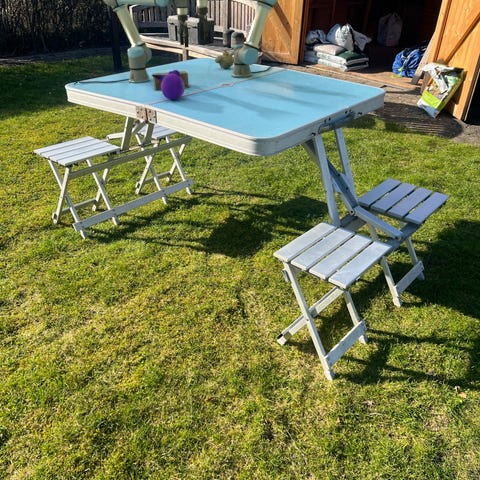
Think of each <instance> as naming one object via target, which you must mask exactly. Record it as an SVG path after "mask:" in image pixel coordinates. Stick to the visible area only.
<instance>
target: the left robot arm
mask: <svg viewBox="0 0 480 480" xmlns="http://www.w3.org/2000/svg"><path fill="white" fill-rule="evenodd" d="M103 2H104V3H105V4H106V5H107V6H109V7H111V9H112V11H113V12H115V13H116V14H117V17H118V18H119V21H120V23H121V25H122V27H123V29H124V32H125V34H126V36H127V38H128V40H129V43H130V44H131V46H130V47H129V48H128V49H127V56H128V66H129V76H128V78H124V79H119V80H108V81H107V80H106V81H105V80H104V81H99V80H94V81H93V80H91V81H81V80H80V81H75V82H74V83H73V85H77V84H95V83H99V84H111V83H120V82H127V81H128V82H129V83H133V84H141V83H148V82H150V76H149V74H148V71H147V67H146V64H147V63H149V62H150V60H151V59H152V56H153V55H152V50H151V48H150V47H148V46H147V44H146V41H144V40H143V39H142V38H141V36H140V33H139V31H138V29H137V27H136V24H135V22H134V20H133V18H132V16H131V13H130V11H129V9H128V6H129V5H133V6H151V7H162V8H163V7H167V6H176V14H177V16H176V17H177V21H178V36H179V45H180V46H184V48H189V47H190V46H189V37H190V35H189V27H188V23H187V22H188V21H189V15H188V13H189V9H188V0H103ZM78 82H79V83H78Z"/></svg>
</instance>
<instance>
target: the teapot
mask: <svg viewBox="0 0 480 480" xmlns="http://www.w3.org/2000/svg"><path fill="white" fill-rule="evenodd" d="M227 50H228V49H223V51H224V52H223V51H222V55H217V56H216V57H215V59H214V62H215V63H216V64H218V65H219V66H220V68H221V69H223V70H226V69H230V68H231V67H232V66H234V58H233V57H234V50H233V51H231V52H230V53H229V51H227Z"/></svg>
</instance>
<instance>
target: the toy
mask: <svg viewBox="0 0 480 480" xmlns="http://www.w3.org/2000/svg"><path fill="white" fill-rule="evenodd" d="M168 72H169V73H168V75H153V74H151V77H152V78H153V77H155V78H157V79H159V80H160V81H162V83H161V90H160V91H161V93H162V95H163V97H165V98H166V99H168V100H171V101H172V100H173V101H177V100H178V99H180V98H181V97H182V96H183V95H184V93H185V90H186V88H185V85H184V82H183V79H182V78H181V77H180V73H179V72H180V71H179V70H178V69H174V70H170V71H168Z"/></svg>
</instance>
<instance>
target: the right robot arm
mask: <svg viewBox="0 0 480 480" xmlns="http://www.w3.org/2000/svg"><path fill="white" fill-rule="evenodd" d="M249 1H250V2H256V3H257V9H256V12H255V14H254V15H255V16H254V18H253V21H252V25H251V26H250V31H249V34H248V36H247V39H246V40H245V41H244V42H243V43H240V44H239V43H238V44H234V45H233V51H234V55H233V59H234V63H233V69H232V72H231V77H232V78H238V79H245V78H250V77H252V75H253V74H257V73H258V74H259V73H264V72H267V71H269V69H270V68H273V67H277V66H278V67H280V68H281V67H282V65H281V64H273V65H270V66H268V67H267V68H266V69H264V70H258V71H251V67H250V66H253V65H255V64H256V63H257V62H258V60H259V57H260V55H259V51H260V46H259V43H260V41H261V38H262V33H263V32H264V29H265V25H266V23H267V19H268V17H269V14H270V12H271V10H273V8H274V5H275V4H276V3H277V2H278V1H279V0H249ZM195 2H196V7H197V8H196V14H198V29H199V39H200V41H204V43H209V42H210V39H209V36H210V35H209V31H210V28H209V26H210V25H209V20H208V15H207V14H209V7H208V6H209V5H208V4H209V0H195Z"/></svg>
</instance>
